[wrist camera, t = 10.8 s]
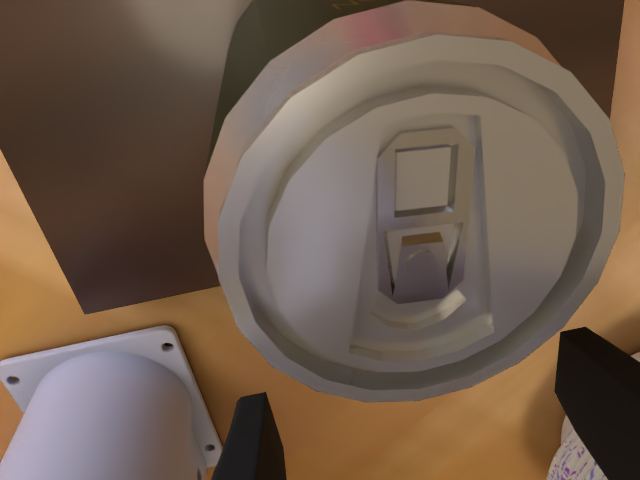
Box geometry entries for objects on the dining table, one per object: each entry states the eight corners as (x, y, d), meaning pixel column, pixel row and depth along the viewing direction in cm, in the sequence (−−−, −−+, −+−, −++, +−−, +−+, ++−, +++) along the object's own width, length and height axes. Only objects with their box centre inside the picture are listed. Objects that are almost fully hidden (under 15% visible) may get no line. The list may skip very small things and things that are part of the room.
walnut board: (572, 186, 22) (599, 205, 21) (97, 286, 22) (84, 315, 20) (614, -280, 15) (663, -312, 13) (-110, -147, 14) (-159, -161, 12)
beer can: (214, -21, 15) (143, 32, 5) (394, -35, 15) (705, -15, 5) (240, 153, 18) (232, 438, 7) (392, 138, 18) (593, 386, 8)
